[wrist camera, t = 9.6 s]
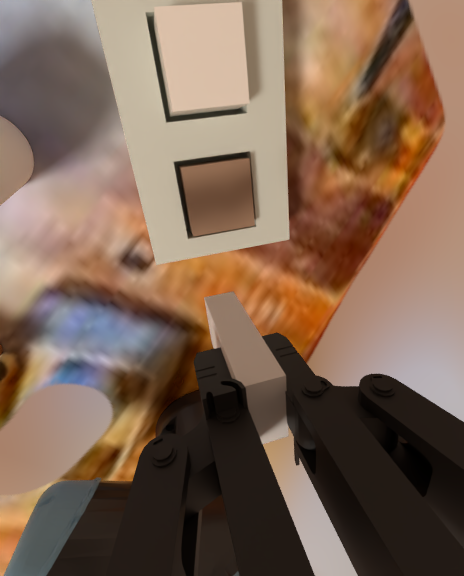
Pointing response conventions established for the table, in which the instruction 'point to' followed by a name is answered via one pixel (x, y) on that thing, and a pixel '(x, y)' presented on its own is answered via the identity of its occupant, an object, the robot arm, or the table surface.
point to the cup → (13, 159)
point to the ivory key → (202, 57)
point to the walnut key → (217, 195)
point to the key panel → (199, 126)
